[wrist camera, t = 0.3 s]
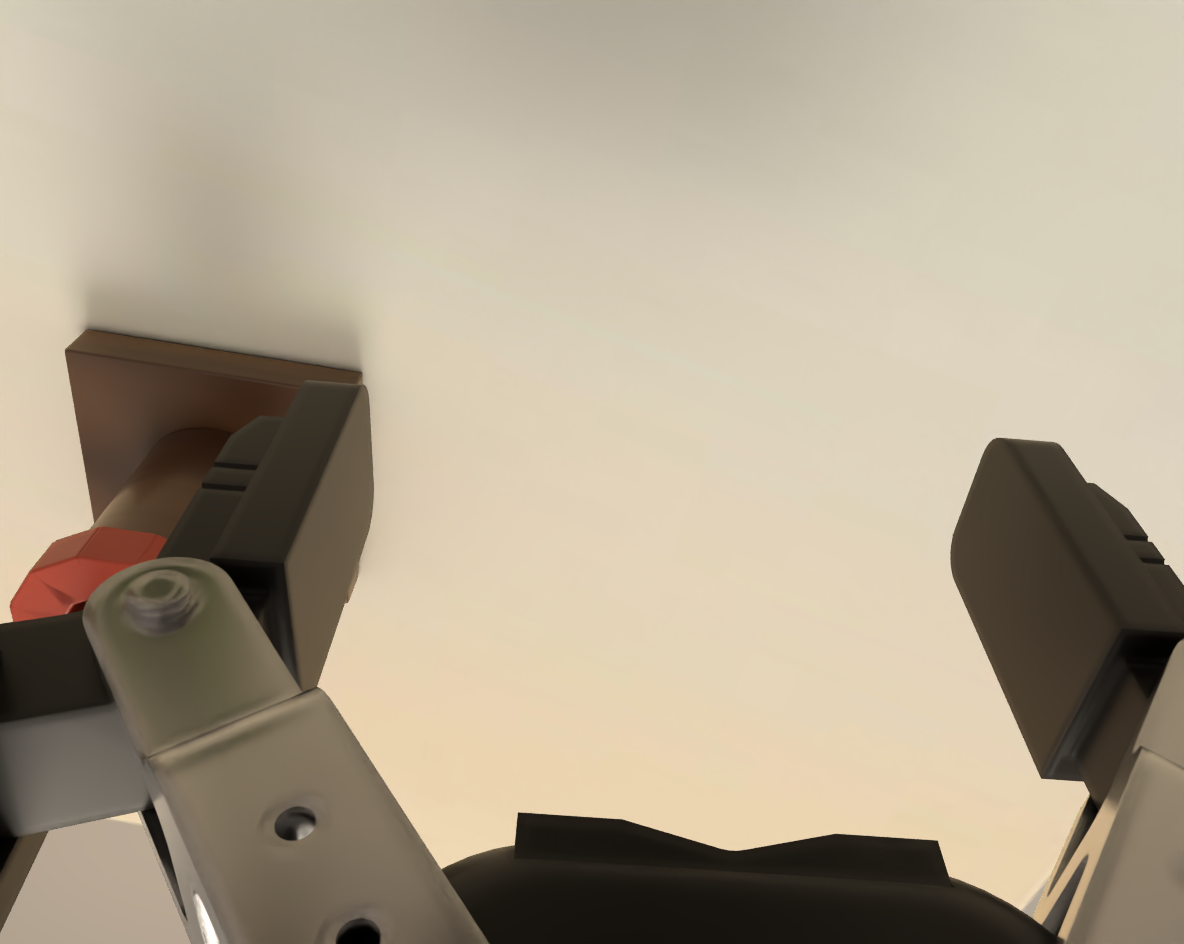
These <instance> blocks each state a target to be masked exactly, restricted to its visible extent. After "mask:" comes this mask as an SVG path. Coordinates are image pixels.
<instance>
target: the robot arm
mask: <svg viewBox="0 0 1184 944" xmlns="http://www.w3.org/2000/svg"><path fill="white" fill-rule="evenodd" d="M373 498H374V481H373V463H372V444H371V425H370V406H369V396H368V391H367V388H366V386H365V385H361V384H348V383H336V382H324V381H311V380H306V381H304V382H303V384H302V385H301V387H300V389H299V391H298V393H297V395H296V396H295V398H294V400H293V402H292V404H291V406H290V408H289V410H288V411H287V413H286V415H285V417H276V416H263V415H260V416H258V417H257V418H255V419H254V420H253V421H251V422H250V423H248V424H247V425H245V426H244V427H242V428H241V429H240V430H238V431H237V432H235V433H234V434H232V435H231V436H230V437H229V438H228V440H227V442H226V443H225V445H224V447H223V448H222V450H221V452H220V453H219V455H218V457H217V458H216V460H215V462H214V467H211V468H210V470H209V471H208V473H207V475H206V476H205V478H204V480H203V481H202V487H201V488H198V490H197V491H196V493H195V495H194V496H193V498H192V500H191V501H190V503H189V505H188V506H187V508H186V510H185V511H184V513H183V515H182V516H181V518H180V519H179V521H178V523H177V524H176V526H175V528H174V529H173V531H172V533H171V534H170V536H169V538H168V539H167V541H166V543H165V544H164V546H163V548H162V549H161V551H160V553H159V554H158V556H157V558H156V559H154V560H150V561H146V562H142V563H139V564H136V565H133V566H131V567H128V568H126V569H124V570H122V571H120V572H118V573H116V574H114V575H113V576H111V577H110V578H108V579H107V580H105V581H104V582H103V583H102V584H101V585H99V586H98V587H97V588H96V589H95V590H94V592H93V593H92V594H91V595H90V597H89V598H88V600H87V602H86V604H85V607H84V610H81V611H77V612H73V613H68V614H63V615H57V616H51V617H44V618H37V619H30V620H24V621H17V622H10V623H3V624H0V932H1V930H2V928H3V926H4V923H5V921H6V919H7V917H8V915H9V913H10V911H11V909H12V907H13V905H14V903H15V900H16V898H17V896H18V894H19V892H20V890H21V888H22V886H23V883H24V881H25V879H26V877H27V875H28V873H29V871H30V869H31V867H32V864H33V863H34V860H35V858H36V856H37V854H38V852H39V850H40V848H41V846H42V843H43V842H44V839H45V837H46V835H47V833H48V831H49V830H53V829H58V828H62V827H67V826H72V825H77V824H81V823H86V822H91V821H96V820H100V819H105V818H110V817H115V816H119V815H124V814H129V813H134V812H138V814H139V817H140V819H141V822H142V824H143V826H144V829H145V831H146V834H147V836H148V839H149V841H150V844H151V846H152V849H153V851H154V854H155V856H156V858H157V861H158V863H159V866H160V868H161V871H162V873H163V876H164V878H165V881H166V883H167V885H168V888H169V890H170V893H171V895H172V898H173V900H174V903H175V905H176V907H177V910H178V913H179V915H180V918H181V920H182V922H183V925H184V927H185V930H186V932H187V935H188V937H189V940H190V942H191V944H1184V585H1183V584H1182V582H1181V581H1180V580H1179V578H1178V577H1177V575H1176V574H1175V573H1174V571H1173V570H1172V569H1171V567H1170V566H1169V565H1164V560H1165V559H1164V558H1163V556H1162V555H1161V554H1160V552H1159V551H1158V549H1157V548H1156V547H1155V545H1154V544H1153V543H1152V542H1148V536H1147V534H1146V533H1145V532H1144V530H1143V529H1142V527H1141V526H1140V525H1139V523H1138V522H1137V521H1136V519H1135V518H1134V517H1133V515H1132V514H1131V512H1130V511H1129V510H1128V509H1127V508H1126V507H1125V506H1123V505H1122V504H1121V503H1120V502H1118V501H1117V500H1116V499H1114V498H1113V497H1112V496H1110V495H1109V494H1108V493H1106V492H1105V491H1104V490H1102V489H1101V488H1100V487H1098V486H1097V485H1096V484H1094V483H1087V482H1086V481H1085V479H1084V478H1083V477H1082V475H1081V474H1080V472H1079V471H1078V469H1077V468H1076V467H1075V465H1074V464H1073V462H1072V461H1071V459H1070V458H1069V456H1068V455H1067V454H1066V452H1065V451H1064V449H1063V448H1062V447H1061V446H1060V445H1059V444H1057V443H1055V442H1045V441H1033V440H1020V439H1008V438H996V439H993V440H992V441H991V442H990V443H989V444H988V446H987V447H986V449H985V451H984V453H983V456H982V458H981V461H980V464H979V466H978V469H977V472H976V474H975V477H974V480H973V482H972V485H971V488H970V490H969V493H968V496H967V498H966V501H965V504H964V507H963V509H962V512H961V515H960V517H959V520H958V523H957V525H956V528H955V531H954V534H953V538H952V544H951V569H952V574H953V578H954V581H955V583H956V585H957V588H958V590H959V592H960V594H961V597H962V599H963V601H964V604H965V606H966V608H967V610H968V613H969V615H970V617H971V620H972V622H973V624H974V626H975V629H976V631H977V633H978V635H979V638H980V640H981V642H982V645H983V647H984V649H985V651H986V654H987V656H988V658H989V661H990V663H991V665H992V667H993V670H994V672H995V674H996V676H997V679H998V681H999V683H1000V686H1001V688H1002V690H1003V692H1004V695H1005V697H1006V699H1007V702H1008V704H1009V706H1010V708H1011V711H1012V713H1013V715H1014V717H1015V720H1016V722H1017V724H1018V727H1019V729H1020V731H1021V733H1022V736H1023V738H1024V740H1025V742H1026V745H1027V747H1028V749H1029V752H1030V754H1031V756H1032V758H1033V761H1034V763H1035V765H1036V768H1037V770H1038V772H1039V774H1040V777H1041V779H1055V780H1069V781H1084V783H1085V785H1086V787H1087V789H1088V791H1089V793H1090V794H1089V795H1088V797H1087V799H1086V800H1085V802H1084V804H1083V805H1082V807H1081V809H1080V811H1079V812H1078V814H1077V817H1076V819H1075V821H1074V823H1073V826H1072V828H1071V830H1070V833H1069V835H1068V837H1067V839H1066V842H1065V844H1064V846H1063V849H1062V851H1061V853H1060V855H1059V858H1058V860H1057V862H1056V865H1055V867H1054V869H1053V871H1052V874H1051V876H1050V878H1049V881H1048V883H1047V885H1046V887H1045V890H1044V892H1043V894H1042V897H1041V899H1040V901H1039V903H1038V906H1037V908H1036V910H1035V912H1034V915H1033V917H1032V918H1031V917H1030V916H1028V915H1027V914H1025V913H1024V912H1022V911H1020V910H1019V909H1017V908H1016V907H1014V906H1013V905H1011V904H1009V903H1008V902H1006V901H1004V900H1002V899H1000V898H998V897H996V896H994V895H992V894H990V893H988V892H986V891H985V890H982V889H980V888H977V887H975V886H973V885H970V884H968V883H965V882H963V881H960V880H958V879H955V878H952V877H949V876H948V873H947V869H946V866H945V863H944V860H943V857H942V853H941V850H940V847H939V844H938V841H934V840H919V839H905V838H890V837H875V836H860V835H845V834H832V835H826V836H821V837H815V838H810V839H804V840H798V841H793V842H787V843H782V844H776V845H770V846H765V847H759V848H754V849H748V850H741V851H728V850H724V849H719V848H716V847H713V846H709V845H706V844H703V843H699V842H696V841H693V840H689V839H686V838H682V837H679V836H676V835H672V834H669V833H666V832H662V831H659V830H656V829H652V828H649V827H646V826H642V825H639V824H635V823H632V822H629V821H625V820H622V819H607V818H592V817H577V816H562V815H547V814H532V813H518V818H517V828H516V839H515V845H514V846H508V847H503V848H497V849H493V850H489V851H486V852H483V853H479V854H476V855H473V856H470V857H467V858H465V859H463V860H460V861H458V862H456V863H454V864H451V865H449V866H447V867H445V868H443V869H441V868H440V867H439V865H438V864H437V862H436V861H435V859H434V858H433V856H432V855H431V853H430V852H429V850H428V848H427V847H426V845H425V844H424V842H423V841H422V839H421V838H420V836H419V835H418V833H417V831H416V830H415V828H414V827H413V825H412V824H411V822H410V821H409V819H408V818H407V816H406V814H405V813H404V811H403V810H402V808H401V807H400V805H399V804H398V802H397V801H396V799H395V797H394V796H393V794H392V793H391V791H390V790H389V788H388V787H387V785H386V784H385V782H384V780H383V779H382V777H381V776H380V774H379V773H378V771H377V770H376V768H375V767H374V765H373V764H372V762H371V760H370V759H369V757H368V756H367V754H366V753H365V751H364V750H363V748H362V747H361V745H360V743H359V742H358V740H357V739H356V737H355V736H354V734H353V733H352V731H351V730H350V728H349V726H348V725H347V723H346V722H345V720H344V719H343V717H342V716H341V714H340V713H339V711H338V709H337V708H336V706H335V705H334V703H333V702H332V701H331V699H330V698H329V697H328V695H327V694H326V693H325V692H324V691H323V690H322V689H320V688H318V687H317V685H318V682H319V679H320V676H321V673H322V670H323V667H324V664H325V661H326V658H327V655H328V652H329V649H330V646H331V643H332V640H333V637H334V634H335V631H336V628H337V625H338V622H339V619H340V616H341V613H342V610H343V607H344V604H345V601H346V598H347V595H348V592H349V589H350V586H351V583H352V580H353V577H354V574H355V571H356V568H357V565H358V562H359V559H360V556H361V553H362V550H363V547H364V544H365V541H366V538H367V535H368V532H369V528H370V523H371V517H372V510H373Z"/></svg>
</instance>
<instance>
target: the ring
mask: <svg viewBox="0 0 1184 944" xmlns="http://www.w3.org/2000/svg"><path fill="white" fill-rule="evenodd" d="M166 541H167V539H166V538H164V537H162V536H160V535H158V536H157V535H156V534H152V533H145V532H139V531H132V530H125V529H119V528H112V527H105V526H102V527H96V528H93V529H90V530H87V531H84V532H81V533H78V534H74V535H71V536H68V537H65V538H62V539H59V540H56V541H55V542H53V543H52V544H51V545H50V547H49V548H48V549H47V550H46V552H45V553H44V554H43V555H42V557H41V558H40V559H39V560H38V561H37V563H36V564H35V565H34V566H33V568H32V569H31V570H30V571H29V573H28V574H27V576H26V578H25V579H24V581H23V582H22V584H21V586H20V587H19V589H18V591H17V592H16V594H15V595H14V597H13V599H12V600H11V603H10V610H11V614H12V618H13V622H17V621H24V620H30V619H37V618H44V617H51V616H57V615H63V614H68V613H73V612H77V611H81V610H84V607H85V604H86V602H87V600H88V598H89V597H90V595H91V594H92V593H93V592H94V590H95V589H96V588H97V587H98V586H99V585H101V584H102V583H103V582H104V581H105V580H107V579H108V578H110V577H111V576H113V575H114V574H116V573H118V572H120V571H122V570H124V569H126V568H128V567H131V566H133V565H136V564H139V563H142V562H146V561H150V560H154V559H156V558H157V556H158V554H159V553H160V551H161V549H162V548H163V546H164V544H165V543H166Z"/></svg>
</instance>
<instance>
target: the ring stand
mask: <svg viewBox="0 0 1184 944" xmlns="http://www.w3.org/2000/svg"><path fill="white" fill-rule="evenodd" d="M65 356H66V361H67V367H68V373H69V379H70V385H71V391H72V396H73V402H74V408H75V414H76V420H77V425H78V431H79V437H80V443H81V449H82V454H83V460H84V466H85V472H86V478H87V483H88V489H89V495H90V501H91V507H92V512H93V518H94V524H93V526H92V527H91V528H90V529H93V528H96V527H102V526H105V527H112V528H119V529H125V530H132V531H139V532H145V533H152V534H156V535H157V536H158V535H160V536H162V537H164V538H166V539H168V538H169V536H170V534H171V533H172V531H173V529H174V528H175V526H176V524H177V523H178V521H179V519H180V518H181V516H182V515H183V513H184V511H185V510H186V508H187V506H188V505H189V503H190V501H191V500H192V498H193V496H194V495H195V493H196V491H197V490H198V488H201V487H202V481H203V480H204V478H205V476H206V475H207V473H208V471H209V470H210V468H211V467H214V462H215V460H216V458H217V457H218V455H219V453H220V452H221V450H222V448H223V447H224V445H225V443H226V442H227V440H228V438H229V437H230V436H231V435H232V434H234V433H235V432H237V431H238V430H240V429H241V428H242V427H244V426H245V425H247V424H248V423H250V422H251V421H253V420H254V419H255V418H257V417H258V416H260V415H263V416H276V417H285V415H286V413H287V411H288V410H289V408H290V406H291V404H292V402H293V400H294V398H295V396H296V395H297V393H298V391H299V389H300V387H301V385H302V384H303V382H304V381H306V380H311V381H324V382H336V383H348V384H361V385H362V374H361V373H358V372H351V371H345V370H339V369H332V368H326V367H320V366H313V365H307V364H301V363H295V362H288V361H282V360H276V359H269V358H263V357H257V356H250V355H244V354H238V353H231V352H225V351H219V350H212V349H206V348H200V347H193V346H187V345H181V344H175V343H168V342H162V341H156V340H149V339H143V338H137V337H130V336H124V335H118V334H111V333H105V332H99V331H92V330H86V331H85V332H83V333H82V334H81V335H80V336H79V337H78V338H77V339H76V340H75V341H74V342H73V343H72V344H71V345H69V346H68V347H67V348H66V349H65ZM357 578H358V565H357V568H356V571H355V574H354V577H353V580H352V583H351V586H350V589H349V592H348V595H347V598H346V601H345V603H348V601H349V599H350V597H351V594H352V591H353V589H354V586H355V583H356V581H357Z"/></svg>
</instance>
